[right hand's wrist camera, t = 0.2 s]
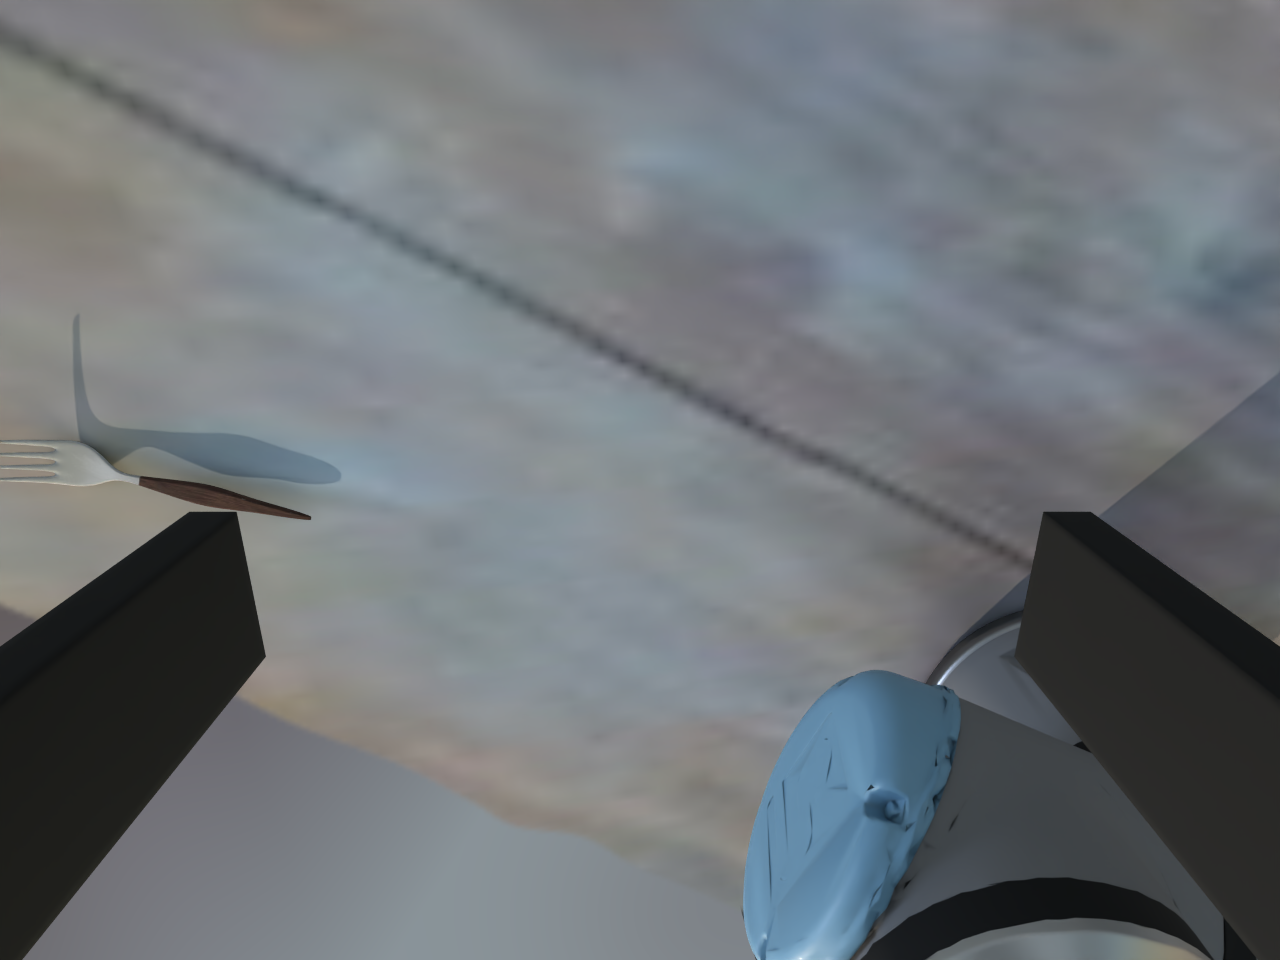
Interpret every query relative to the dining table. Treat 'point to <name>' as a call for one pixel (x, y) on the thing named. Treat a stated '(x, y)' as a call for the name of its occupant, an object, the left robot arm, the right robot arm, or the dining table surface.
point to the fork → (129, 478)
